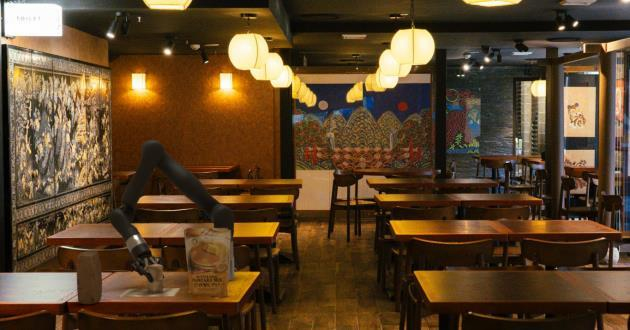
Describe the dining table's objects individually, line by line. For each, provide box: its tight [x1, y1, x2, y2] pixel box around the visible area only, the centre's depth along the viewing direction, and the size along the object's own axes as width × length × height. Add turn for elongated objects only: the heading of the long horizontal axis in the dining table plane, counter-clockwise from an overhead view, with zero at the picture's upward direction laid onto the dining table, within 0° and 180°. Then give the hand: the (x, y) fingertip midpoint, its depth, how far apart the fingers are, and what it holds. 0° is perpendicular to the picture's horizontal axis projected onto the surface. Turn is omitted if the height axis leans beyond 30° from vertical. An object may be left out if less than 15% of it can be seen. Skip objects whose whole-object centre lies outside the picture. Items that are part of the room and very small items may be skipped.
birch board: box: [119, 287, 181, 298], centre depth 311 cm, size 22×14×2 cm, turn 89°
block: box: [76, 250, 103, 305], centre depth 302 cm, size 11×8×20 cm
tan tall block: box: [146, 264, 164, 294], centre depth 310 cm, size 5×5×11 cm
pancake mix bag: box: [183, 227, 231, 298], centre depth 308 cm, size 7×19×28 cm, turn 86°
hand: (157, 280), depth 309 cm, fingers closed on tan tall block, 4 cm apart
